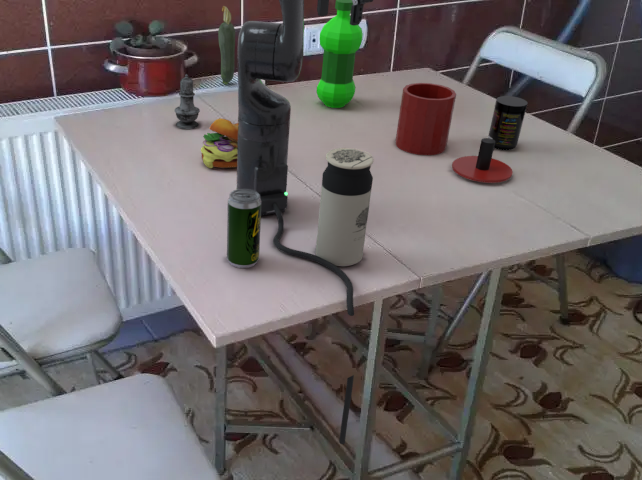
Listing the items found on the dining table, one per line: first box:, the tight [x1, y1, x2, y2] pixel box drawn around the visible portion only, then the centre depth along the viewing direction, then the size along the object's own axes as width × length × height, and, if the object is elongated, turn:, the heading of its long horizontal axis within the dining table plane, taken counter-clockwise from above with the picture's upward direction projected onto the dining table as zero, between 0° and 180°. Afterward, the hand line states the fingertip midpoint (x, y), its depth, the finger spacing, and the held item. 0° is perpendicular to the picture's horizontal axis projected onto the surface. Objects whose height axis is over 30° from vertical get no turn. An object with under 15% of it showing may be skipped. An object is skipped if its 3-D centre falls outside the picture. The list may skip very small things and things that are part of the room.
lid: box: [451, 137, 514, 184], centre depth 155 cm, size 12×12×7 cm
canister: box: [395, 82, 457, 156], centre depth 165 cm, size 11×11×12 cm
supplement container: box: [487, 95, 528, 151], centre depth 167 cm, size 7×7×10 cm
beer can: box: [226, 188, 262, 269], centre depth 121 cm, size 5×5×12 cm
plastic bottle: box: [316, 0, 364, 109], centre depth 182 cm, size 10×10×25 cm
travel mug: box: [315, 147, 375, 267], centre depth 122 cm, size 8×8×18 cm
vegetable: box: [217, 5, 236, 85], centre depth 193 cm, size 4×4×20 cm
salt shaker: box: [174, 73, 201, 130], centre depth 171 cm, size 6×6×12 cm
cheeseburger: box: [200, 117, 238, 169], centre depth 156 cm, size 10×11×10 cm
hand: (338, 20), depth 146 cm, fingers open, 8 cm apart
